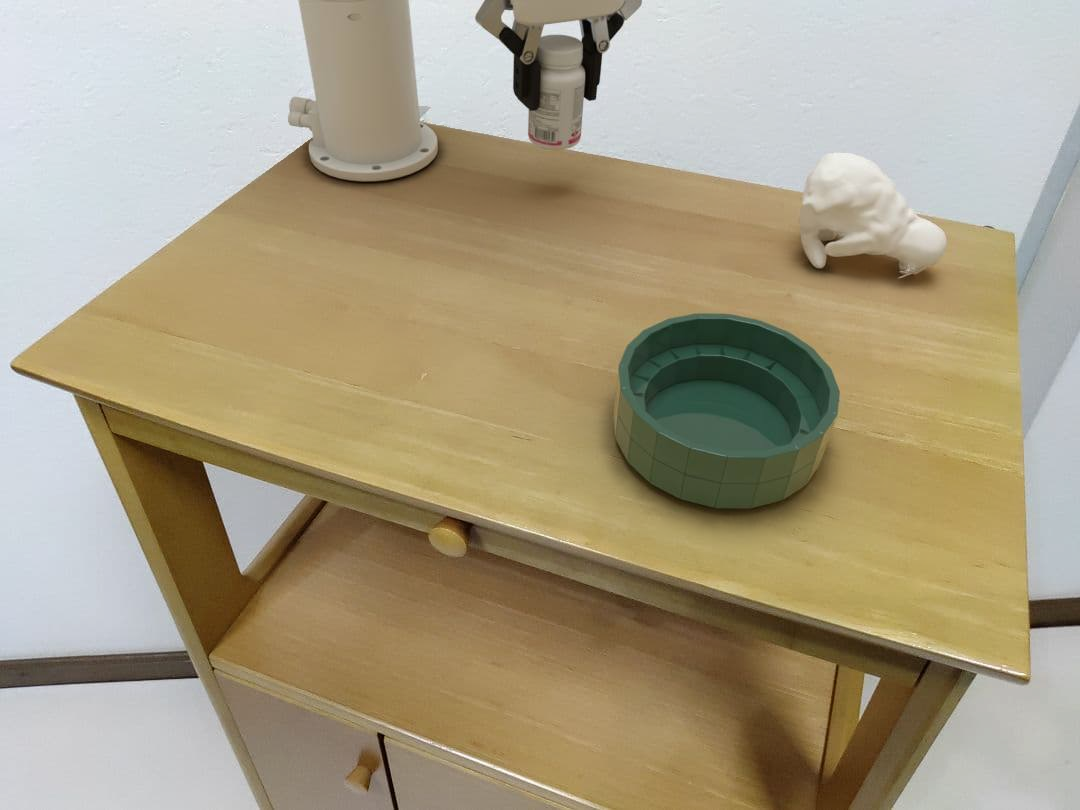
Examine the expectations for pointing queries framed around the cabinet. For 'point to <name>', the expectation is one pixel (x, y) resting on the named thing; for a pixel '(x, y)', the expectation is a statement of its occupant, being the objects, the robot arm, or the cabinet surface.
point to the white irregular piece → (863, 216)
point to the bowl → (724, 409)
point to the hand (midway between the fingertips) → (556, 97)
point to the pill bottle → (558, 93)
